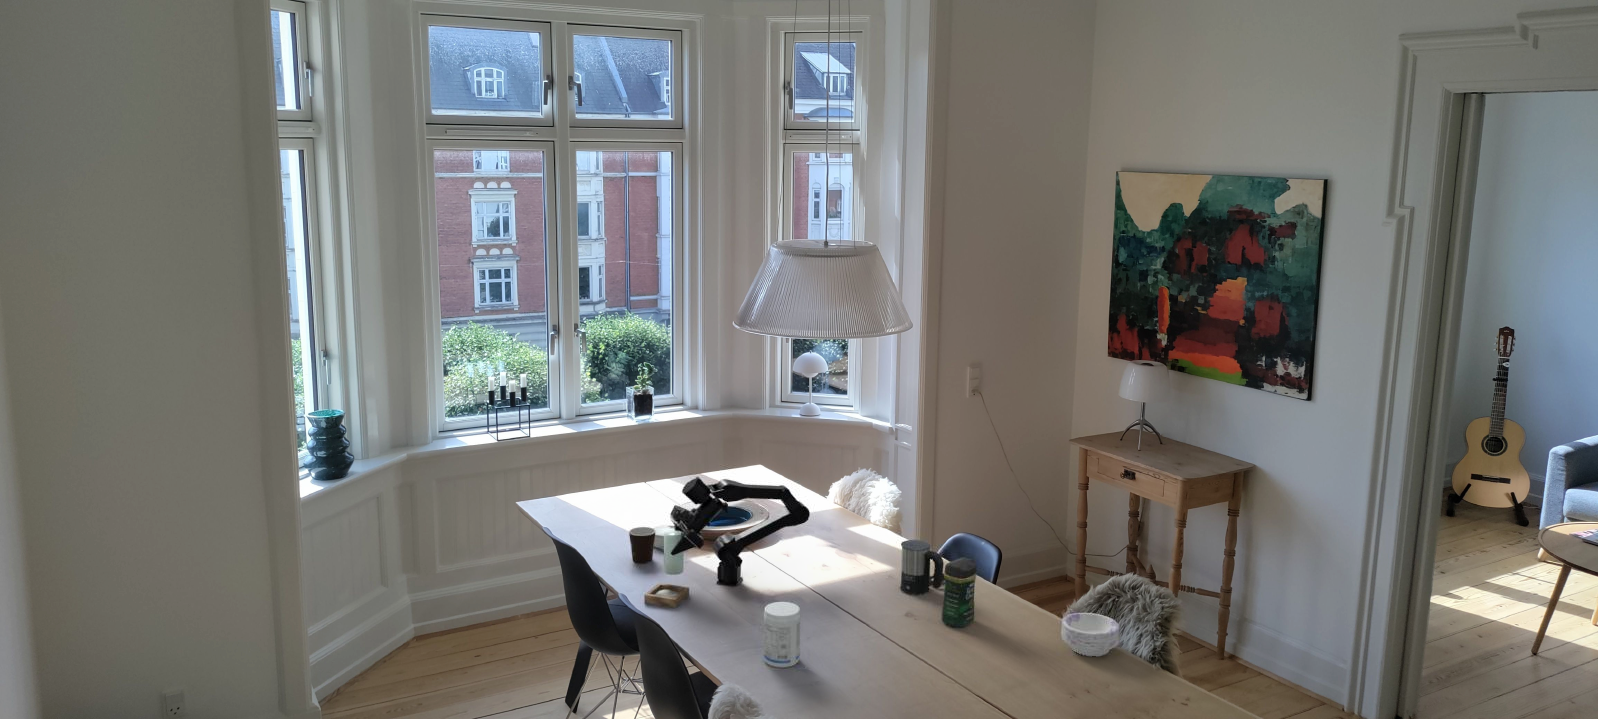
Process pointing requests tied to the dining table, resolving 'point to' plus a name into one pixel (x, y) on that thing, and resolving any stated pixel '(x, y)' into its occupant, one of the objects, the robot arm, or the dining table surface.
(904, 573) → the milk frother
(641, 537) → the coffee mug
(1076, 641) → the paper bowls
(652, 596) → the tray
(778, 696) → the dining table surface
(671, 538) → the pale green rounded part
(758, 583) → the dining table surface
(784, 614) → the supplement tub
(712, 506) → the robot arm
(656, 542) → the ramekin
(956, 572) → the coffee jar
